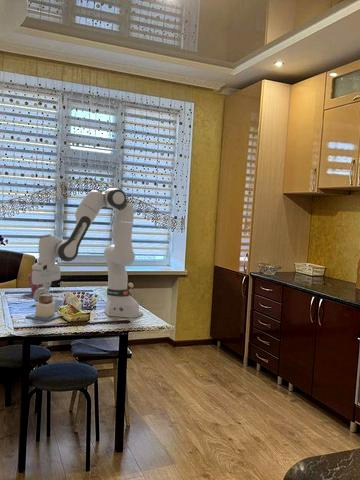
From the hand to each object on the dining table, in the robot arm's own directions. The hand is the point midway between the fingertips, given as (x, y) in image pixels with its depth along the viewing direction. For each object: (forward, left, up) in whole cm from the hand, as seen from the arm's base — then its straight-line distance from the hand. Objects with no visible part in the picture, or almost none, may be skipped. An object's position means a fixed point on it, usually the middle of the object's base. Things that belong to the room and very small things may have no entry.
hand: (46, 290), depth 239 cm
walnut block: (0, 0, -8) cm, 8 cm away
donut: (+21, -24, -15) cm, 35 cm away
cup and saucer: (0, 0, -15) cm, 15 cm away
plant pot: (+41, -47, -15) cm, 64 cm away
